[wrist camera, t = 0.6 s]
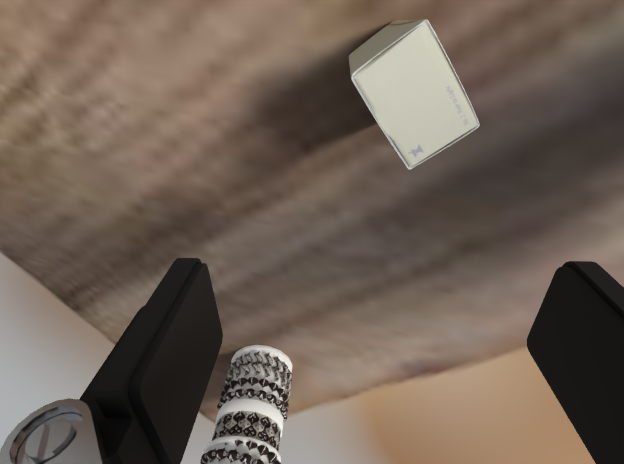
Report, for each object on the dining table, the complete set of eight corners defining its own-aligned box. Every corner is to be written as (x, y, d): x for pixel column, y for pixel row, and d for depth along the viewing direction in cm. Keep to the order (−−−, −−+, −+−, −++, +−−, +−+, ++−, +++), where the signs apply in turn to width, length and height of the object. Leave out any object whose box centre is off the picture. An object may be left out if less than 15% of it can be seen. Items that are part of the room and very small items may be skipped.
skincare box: (431, 89, 28) (487, 129, 18) (383, 121, 30) (409, 175, 20) (392, 16, 26) (431, 13, 15) (342, 55, 27) (348, 76, 17)
